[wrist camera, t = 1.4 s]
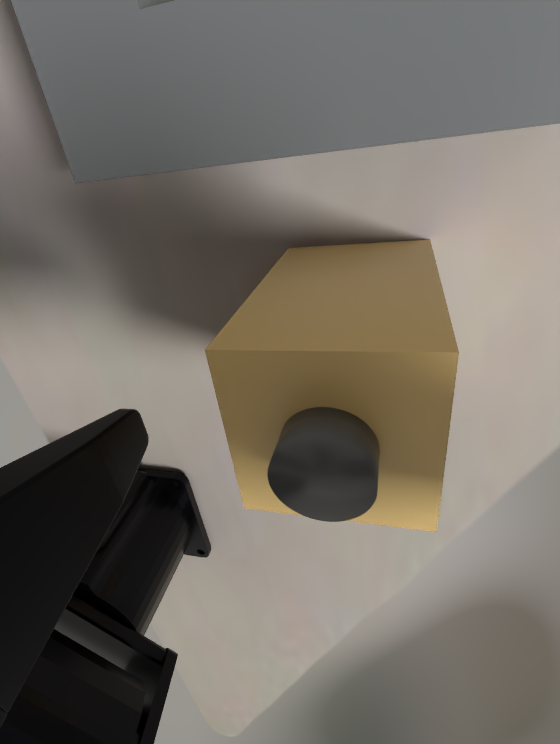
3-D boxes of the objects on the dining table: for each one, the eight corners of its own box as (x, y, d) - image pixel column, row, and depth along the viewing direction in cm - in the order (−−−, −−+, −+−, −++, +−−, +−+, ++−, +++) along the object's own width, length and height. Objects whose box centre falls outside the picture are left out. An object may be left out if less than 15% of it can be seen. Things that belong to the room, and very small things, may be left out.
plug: (421, 365, 14) (440, 575, 8) (300, 362, 15) (230, 544, 9) (429, 239, 12) (468, 387, 6) (288, 247, 13) (181, 378, 7)
